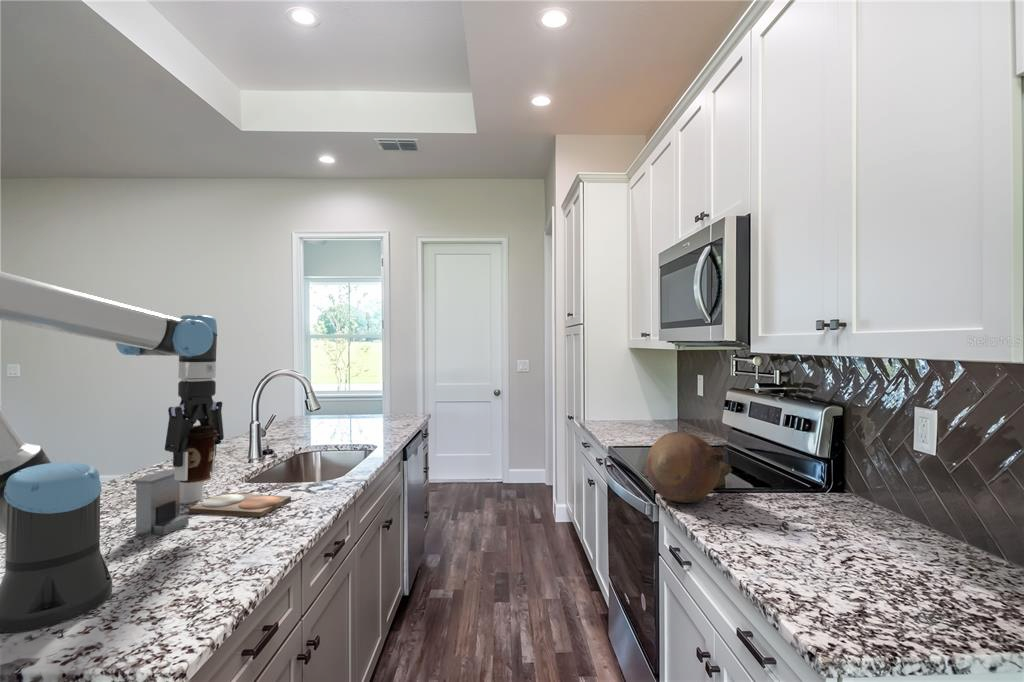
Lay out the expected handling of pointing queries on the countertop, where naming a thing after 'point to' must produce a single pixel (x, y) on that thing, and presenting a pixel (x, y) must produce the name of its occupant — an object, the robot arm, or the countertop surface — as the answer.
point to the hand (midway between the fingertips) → (195, 475)
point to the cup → (190, 491)
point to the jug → (685, 467)
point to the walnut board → (240, 504)
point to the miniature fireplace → (158, 504)
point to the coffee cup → (200, 453)
